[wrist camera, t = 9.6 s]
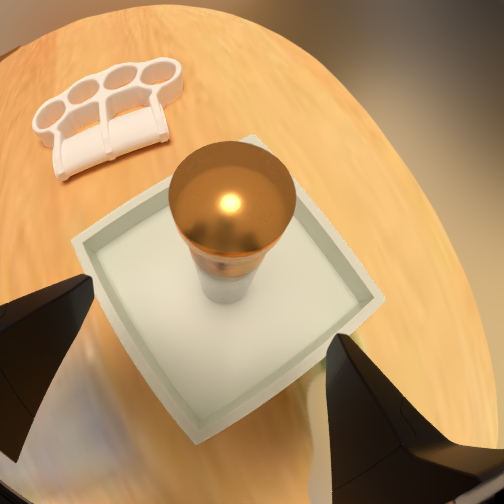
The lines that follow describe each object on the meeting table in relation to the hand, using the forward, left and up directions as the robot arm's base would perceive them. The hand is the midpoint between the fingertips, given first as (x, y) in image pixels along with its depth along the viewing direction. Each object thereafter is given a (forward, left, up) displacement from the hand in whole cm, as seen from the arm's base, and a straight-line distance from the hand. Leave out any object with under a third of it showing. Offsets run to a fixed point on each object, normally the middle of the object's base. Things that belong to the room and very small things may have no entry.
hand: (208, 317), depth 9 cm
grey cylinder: (+2, -3, -11) cm, 12 cm away
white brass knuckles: (+25, -2, -12) cm, 28 cm away
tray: (+2, -3, -12) cm, 12 cm away
